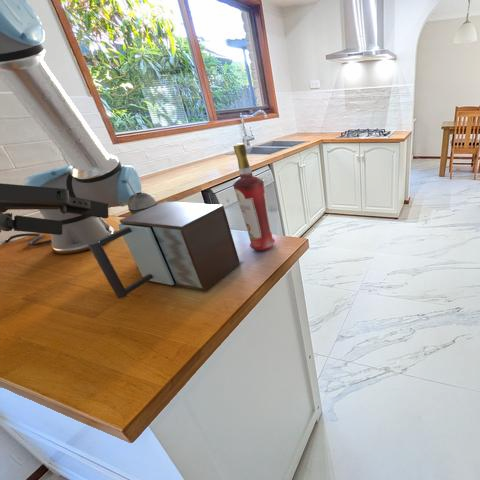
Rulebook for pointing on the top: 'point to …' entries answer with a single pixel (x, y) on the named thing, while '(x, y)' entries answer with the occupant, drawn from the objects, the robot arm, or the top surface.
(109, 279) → the glass door
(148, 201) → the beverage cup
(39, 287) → the top surface
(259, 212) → the liquor
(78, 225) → the robot arm
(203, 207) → the cabinet
